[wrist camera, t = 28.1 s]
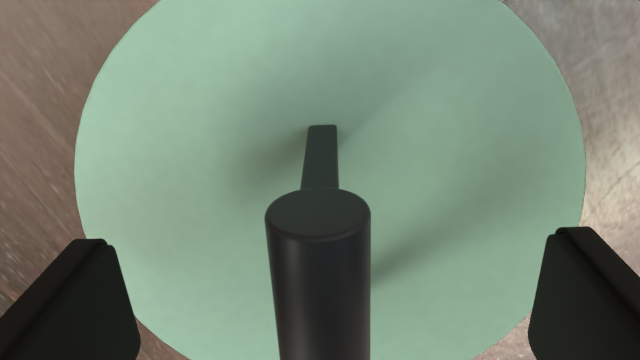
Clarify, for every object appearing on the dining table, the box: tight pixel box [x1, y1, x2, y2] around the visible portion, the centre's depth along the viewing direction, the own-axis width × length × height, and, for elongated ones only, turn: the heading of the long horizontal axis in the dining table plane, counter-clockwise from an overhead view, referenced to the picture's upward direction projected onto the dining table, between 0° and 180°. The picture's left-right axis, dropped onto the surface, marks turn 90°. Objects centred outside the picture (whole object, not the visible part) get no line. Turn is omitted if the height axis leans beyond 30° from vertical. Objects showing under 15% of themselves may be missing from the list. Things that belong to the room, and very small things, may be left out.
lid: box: [74, 0, 586, 360], centre depth 11 cm, size 14×14×6 cm
